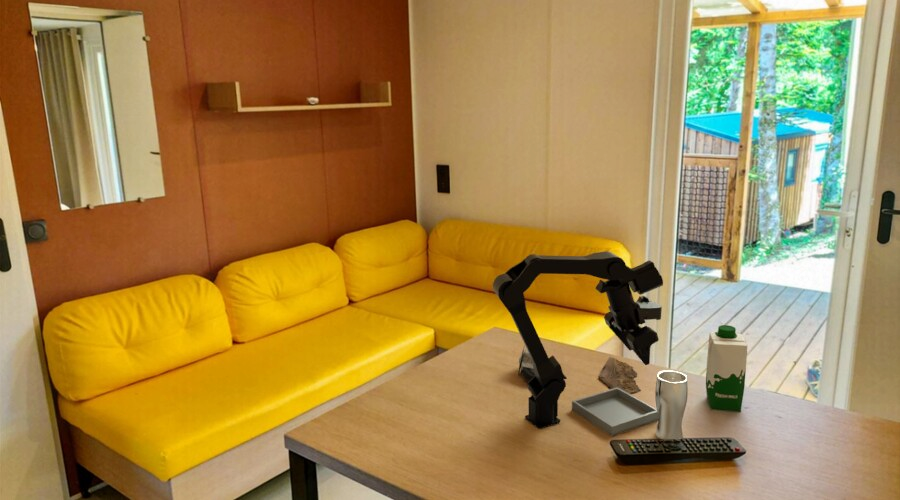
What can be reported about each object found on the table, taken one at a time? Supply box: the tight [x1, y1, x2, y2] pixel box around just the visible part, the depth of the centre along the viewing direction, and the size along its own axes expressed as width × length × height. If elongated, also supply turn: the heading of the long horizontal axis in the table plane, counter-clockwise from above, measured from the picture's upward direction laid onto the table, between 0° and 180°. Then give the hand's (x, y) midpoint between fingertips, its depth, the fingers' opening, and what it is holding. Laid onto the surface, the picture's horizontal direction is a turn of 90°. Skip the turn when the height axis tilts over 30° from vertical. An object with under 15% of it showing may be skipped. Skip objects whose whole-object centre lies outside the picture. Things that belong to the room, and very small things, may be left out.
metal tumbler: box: [654, 370, 689, 440], centre depth 146 cm, size 7×7×15 cm
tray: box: [571, 387, 658, 437], centre depth 158 cm, size 15×15×2 cm
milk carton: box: [705, 324, 748, 413], centre depth 159 cm, size 9×9×20 cm
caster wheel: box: [517, 344, 535, 383], centre depth 180 cm, size 7×11×10 cm
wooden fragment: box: [598, 356, 642, 395], centre depth 180 cm, size 26×11×1 cm, turn 169°
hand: (639, 356), depth 156 cm, fingers open, 9 cm apart
